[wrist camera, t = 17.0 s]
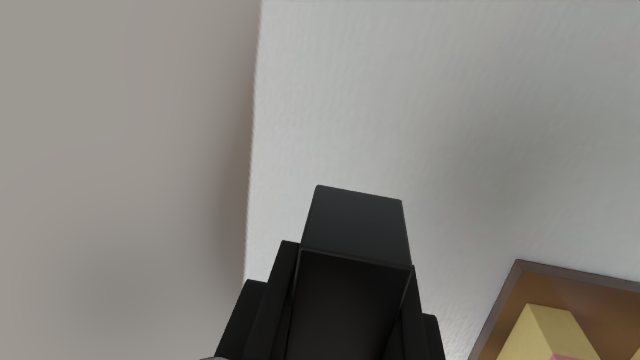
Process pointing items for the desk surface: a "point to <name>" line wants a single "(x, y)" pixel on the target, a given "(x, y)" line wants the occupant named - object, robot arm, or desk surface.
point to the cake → (636, 355)
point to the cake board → (567, 308)
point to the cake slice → (546, 337)
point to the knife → (348, 277)
